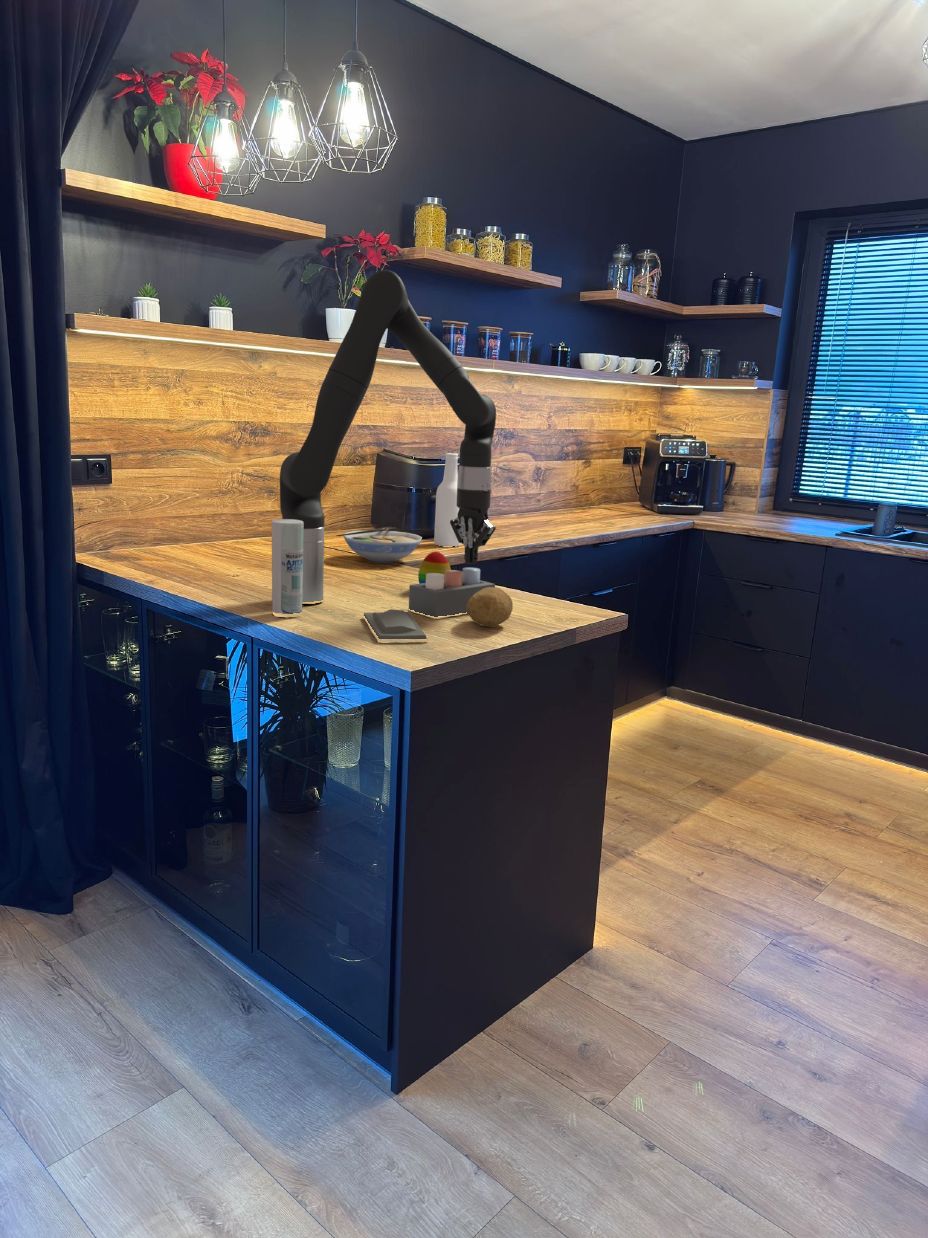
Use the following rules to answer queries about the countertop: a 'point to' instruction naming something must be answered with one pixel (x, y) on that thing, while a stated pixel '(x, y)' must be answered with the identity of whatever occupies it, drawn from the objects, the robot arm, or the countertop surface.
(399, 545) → the ramen bowl
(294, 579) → the spray can
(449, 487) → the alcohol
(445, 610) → the grey rectangular block
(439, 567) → the decorative egg
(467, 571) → the blue grey egg
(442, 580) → the white egg
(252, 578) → the countertop surface
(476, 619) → the potato
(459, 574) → the brown egg
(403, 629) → the soap mold
